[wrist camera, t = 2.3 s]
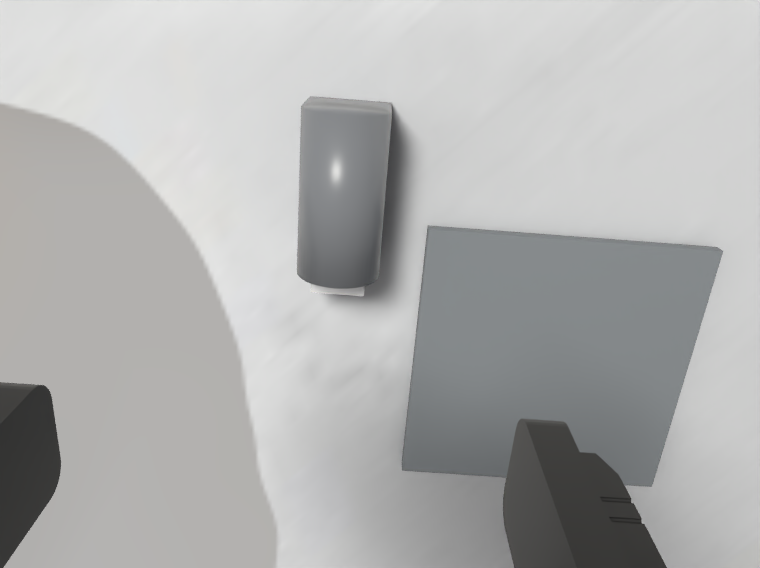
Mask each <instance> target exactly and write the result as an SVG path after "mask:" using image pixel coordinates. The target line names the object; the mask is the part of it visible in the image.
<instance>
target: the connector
mask: <svg viewBox="0 0 760 568" xmlns="http://www.w3.org/2000/svg"><path fill="white" fill-rule="evenodd" d="M391 120H392V105H391V103H387V102H375V101H362V100H349V99H337V98H324V97H311V96H310V97H309V98H308V99H307V100H306V102H305V103H304V104H303V105H302V106H301V137H300V174H299V212H298V249H297V274H298V276H299V277H300V278H302V279H303V280H305V281H306V282H309V283H311V293H324V294H338V295H352V296H364V287H365V286H367V285H369V284H372V283H373V282H375V281H376V280H377V279H378V277H379V268H380V256H381V243H382V231H383V219H384V206H385V194H386V182H387V169H388V157H389V144H390V132H391Z"/></svg>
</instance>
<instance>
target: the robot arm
mask: <svg viewBox="0 0 760 568" xmlns="http://www.w3.org/2000/svg"><path fill="white" fill-rule="evenodd" d="M60 469H61V460H60V451H59V444H58V439H57V432H56V424H55V417H54V411H53V404H52V397H51V394H50V391H49V390H48V389H47V387H46V386H44V385H31V384H17V383H1V382H0V568H3V567H4V566H5V564H6V563H7V561H8V560H9V558H10V557H11V555H12V554H13V553H14V551H15V550H16V548H17V547H18V545H19V544H20V542H21V541H22V540H23V538H24V537H25V535H26V534H27V532H28V531H29V530H30V528H31V527H32V525H33V524H34V522H35V521H36V519H37V518H38V516H39V515H40V514H41V512H42V511H43V509H44V508H45V507H46V505H47V504H48V502H49V501H50V499H51V498H52V496H53V494H54V492H55V489H56V487H57V484H58V480H59V476H60ZM503 516H504V525H505V530H506V534H507V538H508V543H509V547H510V551H511V555H512V559H513V564H514V568H667V567H666V565H665V563H664V561H663V559H662V558H661V556H660V554H659V552H658V550H657V548H656V546H655V544H654V542H653V540H652V538H651V536H650V534H649V532H648V530H647V528H646V527H645V525H644V524H642V523H641V517H640V515H639V513H638V511H637V509H636V507H635V505H634V503H631V498H630V496H629V494H628V492H627V490H626V488H625V486H624V484H623V482H622V480H621V478H620V476H619V474H618V473H616V472H615V471H614V470H613V469H612V468H611V467H610V466H609V465H608V464H607V463H606V462H605V461H604V460H603V459H601V458H600V457H599V456H598V455H597V454H596V453H585V452H579V449H578V447H577V445H576V443H575V441H574V438H573V436H572V434H571V432H570V430H569V427H568V426H567V424H566V423H565V422H564V421H552V420H537V419H520V420H519V421H518V424H517V427H516V431H515V436H514V441H513V446H512V452H511V457H510V462H509V467H508V473H507V478H506V483H505V488H504V497H503Z"/></svg>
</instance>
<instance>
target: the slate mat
mask: <svg viewBox="0 0 760 568" xmlns="http://www.w3.org/2000/svg"><path fill="white" fill-rule="evenodd" d="M722 253H723V251H722V250H720V249H719V248H717V247H709V246H695V245H682V244H668V243H655V242H642V241H628V240H615V239H601V238H588V237H574V236H561V235H547V234H534V233H520V232H507V231H494V230H480V229H467V228H453V227H440V226H428V229H427V238H426V247H425V256H424V265H423V274H422V283H421V293H420V302H419V311H418V320H417V329H416V338H415V347H414V357H413V366H412V375H411V384H410V393H409V402H408V411H407V420H406V430H405V439H404V448H403V457H402V470H403V471H418V472H433V473H449V474H464V475H479V476H495V477H507V473H508V467H509V462H510V457H511V452H512V446H513V441H514V436H515V431H516V427H517V424H518V421H519V420H520V419H537V420H552V421H564V422H565V423H566V424H567V426H568V427H569V430H570V432H571V434H572V436H573V438H574V441H575V443H576V445H577V447H578V449H579V452H585V453H596V454H597V455H598V456H599V457H600V458H601V459H603V460H604V461H605V462H606V463H607V464H608V465H609V466H610V467H611V468H612V469H613V470H614V471H615V472H616V473H618V474H619V476H620V478H621V480H622V482H623V484H624V485H633V486H649V487H652V484H653V481H654V478H655V474H656V471H657V468H658V464H659V461H660V458H661V454H662V451H663V448H664V445H665V441H666V438H667V435H668V431H669V428H670V425H671V421H672V418H673V415H674V412H675V408H676V405H677V402H678V398H679V395H680V392H681V388H682V385H683V382H684V379H685V375H686V372H687V369H688V365H689V362H690V359H691V355H692V352H693V349H694V346H695V342H696V339H697V336H698V332H699V329H700V326H701V322H702V319H703V316H704V313H705V309H706V306H707V303H708V299H709V296H710V293H711V289H712V286H713V283H714V280H715V276H716V273H717V270H718V266H719V263H720V260H721V256H722Z"/></svg>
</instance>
